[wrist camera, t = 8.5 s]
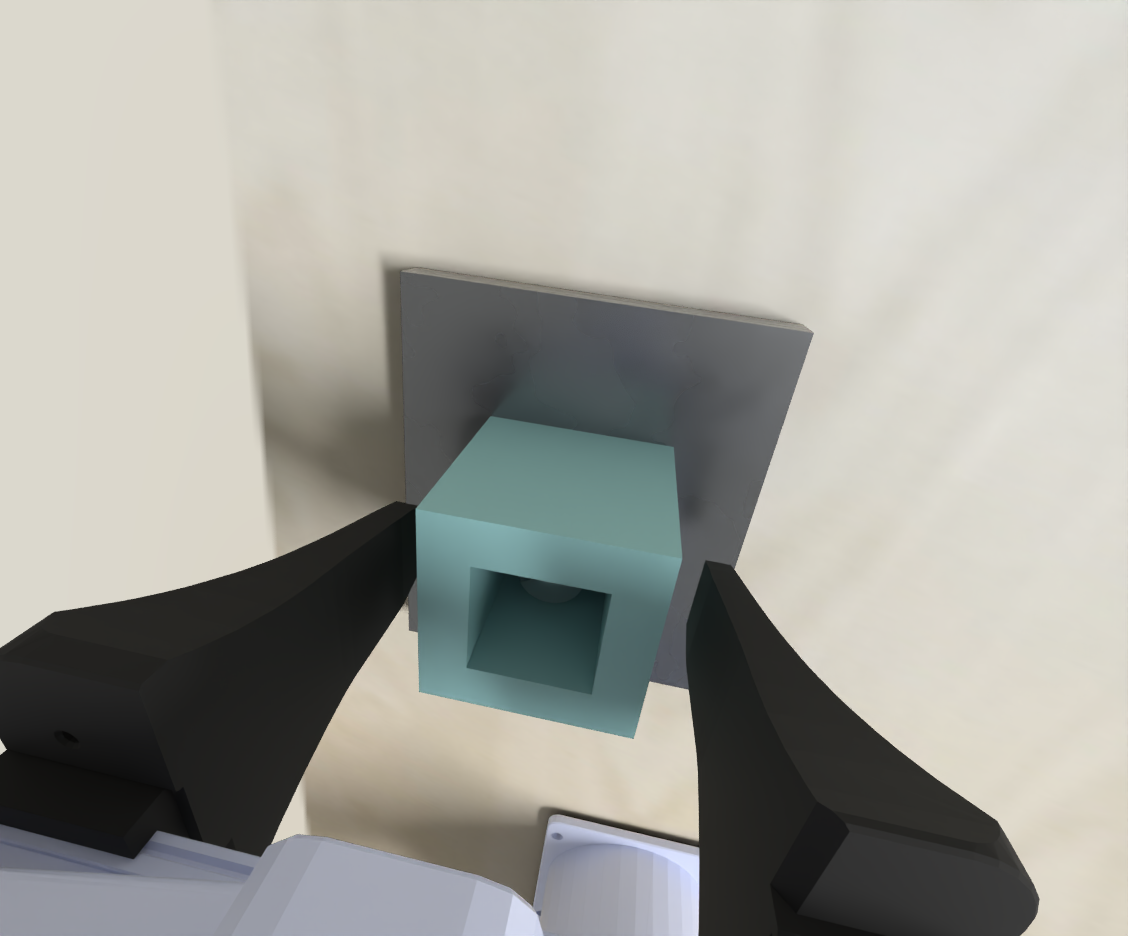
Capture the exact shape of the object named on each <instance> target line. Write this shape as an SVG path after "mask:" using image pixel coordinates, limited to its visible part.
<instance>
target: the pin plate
mask: <svg viewBox="0 0 1128 936" xmlns="http://www.w3.org/2000/svg"><path fill="white" fill-rule="evenodd" d="M400 284H401V324H402V364H403V404H404V444H405V485H406V503H407V504H413V505H419V504H420V503H421V502H422V500H423V499H424V498H425V497H426V495H427V494H428V493H429V492H430V490H431V489H432V488H433V487H434V486H435V484H436V483H437V482H438V481H439V479H440V478H441V477H442V476H443V474H444V473H445V472H446V471H447V469H448V468H449V467H450V466H451V464H452V463H453V462H454V461H455V460H456V458H457V457H458V456H459V455H460V453H461V452H462V451H463V450H464V448H465V447H466V446H467V445H468V443H469V442H470V441H471V440H472V438H473V437H474V436H475V435H476V434H477V432H478V431H479V430H480V429H481V427H482V426H483V425H484V424H485V422H486V421H487V420H488V419H489V417H490V416H493V417H499V418H505V419H511V420H517V421H523V422H529V423H534V424H540V425H546V426H552V427H558V428H564V429H570V430H576V431H582V432H588V433H594V434H600V435H606V436H612V437H618V438H624V439H630V440H635V441H641V442H647V443H653V444H659V445H665V446H671V447H674V458H675V471H676V484H677V496H678V509H679V522H680V535H681V548H682V562H681V565H680V569H679V573H678V577H677V580H676V584H675V588H674V591H673V595H672V599H671V602H670V606H669V610H668V614H667V617H666V621H665V625H664V628H663V632H662V636H661V639H660V643H659V647H658V650H657V654H656V658H655V662H654V665H653V669H652V673H651V676H650V680H649V681H651V682H656V683H660V684H665V685H670V686H674V687H679V688H684V689H689V686H688V677H687V668H686V623H687V620H688V616H689V613H690V610H691V606H692V603H693V600H694V596H695V593H696V590H697V586H698V583H699V580H700V576H701V573H702V570H703V566H704V563H705V560H708V561H713V562H718V563H723V564H729V565H731V566H732V567H733V568H734V569H735V566H736V563H737V560H738V557H739V554H740V551H741V548H742V545H743V542H744V539H745V536H746V533H747V530H748V527H749V524H750V521H751V518H752V515H753V512H754V509H755V506H756V503H757V500H758V497H759V494H760V491H761V488H762V485H763V482H764V479H765V476H766V473H767V470H768V467H769V465H770V462H771V459H772V456H773V453H774V450H775V447H776V444H777V441H778V438H779V435H780V432H781V429H782V426H783V423H784V420H785V417H786V414H787V411H788V408H789V405H790V402H791V399H792V396H793V393H794V390H795V387H796V384H797V381H798V378H799V375H800V372H801V369H802V366H803V363H804V360H805V357H806V355H807V352H808V349H809V346H810V343H811V340H812V337H813V334H814V333H813V332H812V331H811V330H809V329H808V328H807V327H805V326H804V325H802V324H796V323H789V322H782V321H775V320H769V319H762V318H755V317H748V316H742V315H735V314H728V313H721V312H715V311H708V310H701V309H694V308H688V307H681V306H674V305H667V304H661V303H654V302H647V301H640V300H634V299H627V298H620V297H613V296H607V295H600V294H593V293H586V292H580V291H573V290H566V289H559V288H553V287H546V286H539V285H533V284H526V283H519V282H512V281H506V280H499V279H492V278H485V277H479V276H472V275H465V274H458V273H452V272H445V271H438V270H431V269H425V268H418V267H416V268H412V269H407V270H403V271H400ZM519 580H520V582H521V584H522V586H523V588H524V589H525V590H526V591H527V592H528V593H529V594H530V595H532V596H533V597H535V598H537V599H539V600H541V601H545V602H549V603H561V602H566V601H569V600H571V599H573V598H574V597H575V596H577V595H578V594H579V592H580V591H581V589H582V588H577V587H572V586H567V585H562V584H557V583H552V582H547V581H541V580H536V579H531V578H526V577H521V576H519ZM408 605H409V630H410V631H415V632H418V606H417V578H416V580H415V582H414V584H413V586H412V588H411V590H410V592H409V594H408Z"/></svg>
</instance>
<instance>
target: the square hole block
mask: <svg viewBox="0 0 1128 936" xmlns="http://www.w3.org/2000/svg"><path fill="white" fill-rule="evenodd" d="M416 554H417V606H418V658H419V692H422V693H427V694H431V695H436V696H441V697H445V698H450V699H454V700H459V701H463V702H468V703H472V704H477V705H482V706H486V707H491V708H495V709H500V710H504V711H509V712H514V713H518V714H523V715H527V716H532V717H536V718H541V719H545V720H550V721H555V722H559V723H564V724H568V725H573V726H577V727H582V728H586V729H591V730H596V731H600V732H605V733H609V734H614V735H618V736H623V737H628V738H632V739H634V735H635V732H636V728H637V724H638V721H639V717H640V713H641V710H642V706H643V702H644V698H645V695H646V691H647V687H648V684H649V680H650V676H651V673H652V669H653V665H654V662H655V658H656V654H657V650H658V647H659V643H660V639H661V636H662V632H663V628H664V625H665V621H666V617H667V614H668V610H669V606H670V602H671V599H672V595H673V591H674V588H675V584H676V580H677V577H678V573H679V569H680V565H681V562H682V548H681V535H680V522H679V509H678V496H677V484H676V471H675V458H674V447H671V446H665V445H659V444H653V443H647V442H641V441H635V440H630V439H624V438H618V437H612V436H606V435H600V434H594V433H588V432H582V431H576V430H570V429H564V428H558V427H552V426H546V425H540V424H534V423H529V422H523V421H517V420H511V419H505V418H499V417H493V416H490V417H489V419H488V420H487V421H486V422H485V424H484V425H483V426H482V427H481V429H480V430H479V431H478V432H477V434H476V435H475V436H474V437H473V438H472V440H471V441H470V442H469V443H468V445H467V446H466V447H465V448H464V450H463V451H462V452H461V453H460V455H459V456H458V457H457V458H456V460H455V461H454V462H453V463H452V464H451V466H450V467H449V468H448V469H447V471H446V472H445V473H444V474H443V476H442V477H441V478H440V479H439V481H438V482H437V483H436V484H435V486H434V487H433V488H432V489H431V490H430V492H429V493H428V494H427V495H426V497H425V498H424V499H423V500H422V502H421V503H420V504H419V505H418V507H417V508H416ZM519 576H521V577H526V578H531V579H536V580H541V581H547V582H552V583H557V584H562V585H567V586H572V587H577V588H582V589H581V591H580V592H579V594H578V595H577V596H575V597H574V598H573V599H571V600H569V601H566V602H561V603H549V602H545V601H541V600H539V599H537V598H535V597H533V596H532V595H530V594H529V593H528V592H527V591H526V590H525V589H524V588H523V586H522V584H521V582H520V580H519Z"/></svg>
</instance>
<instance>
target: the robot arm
mask: <svg viewBox="0 0 1128 936" xmlns="http://www.w3.org/2000/svg"><path fill="white" fill-rule="evenodd" d="M417 507H418V505H413V504H407V503H402V502H397V501H396V502H394V503H392V504H389V505H387V506H385V507H383V508H381V509H379V510H377V511H375V512H373V513H371V514H369V515H367V516H365V517H363V518H361V519H360V520H358V521H356V522H354V523H352V524H350V525H348V526H346V527H344V528H342V529H340V530H338V531H336V532H334V533H332V534H330V535H328V536H326V537H323V538H321V539H319V540H317V541H314V542H312V543H310V544H308V545H306V546H303V547H301V548H299V549H297V550H295V551H292V552H290V553H288V554H285V555H283V556H280V557H278V558H275V559H273V560H270V561H268V562H265V563H262V564H259V565H256V566H254V567H251V568H248V569H245V570H243V571H239V572H236V573H233V574H230V575H226V576H223V577H219V578H216V579H212V580H209V581H206V582H202V583H199V584H195V585H192V586H188V587H185V588H180V589H176V590H172V591H168V592H164V593H159V594H154V595H150V596H145V597H141V598H136V599H131V600H126V601H120V602H114V603H108V604H102V605H96V606H90V607H84V608H78V609H72V610H65V611H58V612H54V613H52V614H51V615H49V616H47V617H46V618H45V619H43V620H41V621H40V622H38V623H37V624H35V625H34V626H32V627H31V628H29V629H28V630H26V631H25V632H23V633H22V634H20V635H19V636H17V637H16V638H14V639H13V640H11V641H10V642H9V643H7V644H6V645H4V646H3V647H1V648H0V739H1V741H2V743H3V744H4V746H5V747H6V749H7V750H6V751H5V752H3V753H2V754H1V755H0V936H1020V935H1021V934H1022V933H1023V932H1025V931H1026V929H1027V928H1028V927H1029V925H1030V924H1031V923H1032V921H1033V920H1034V919H1035V917H1036V915H1037V912H1038V905H1039V897H1038V894H1037V892H1036V889H1035V887H1034V884H1033V883H1032V881H1031V879H1030V877H1029V875H1028V874H1027V872H1026V870H1025V868H1024V866H1023V865H1022V863H1021V861H1020V859H1019V858H1018V856H1017V854H1016V852H1015V850H1014V849H1013V847H1012V845H1011V843H1010V842H1009V840H1008V838H1007V836H1006V835H1005V833H1004V831H1003V830H1002V828H1001V827H1000V825H999V823H998V822H997V821H996V820H995V819H993V818H992V817H991V816H989V815H988V814H986V813H985V812H983V811H982V810H980V809H979V808H978V807H976V806H975V805H973V804H972V803H970V802H969V801H967V800H966V799H964V798H963V797H962V796H960V795H959V794H957V793H956V792H954V791H953V790H951V789H950V788H949V787H947V786H946V785H944V784H943V783H941V782H940V781H938V780H937V779H936V778H934V777H933V776H932V775H930V774H929V773H928V772H926V771H925V770H924V769H922V768H921V767H920V766H919V765H917V764H916V763H915V762H913V761H912V760H911V759H909V758H908V757H907V756H906V755H904V754H903V753H902V752H900V751H899V750H898V749H897V748H895V747H894V746H893V745H892V744H891V743H889V742H888V741H887V740H886V739H884V738H883V737H882V736H881V735H880V734H878V733H877V732H876V731H875V730H874V729H873V728H872V727H870V726H869V725H868V724H867V723H866V722H865V721H864V720H862V719H861V718H860V717H859V716H858V715H857V714H856V713H855V712H853V711H852V710H851V709H850V708H849V707H848V706H847V705H846V704H845V703H844V702H843V701H842V700H841V699H840V698H838V697H837V696H836V695H835V694H834V693H833V692H832V691H831V690H830V688H829V687H828V686H827V685H826V684H825V683H824V682H823V681H822V680H821V679H820V678H819V677H818V676H817V675H816V674H815V673H814V672H813V671H812V670H811V669H810V668H809V667H808V666H807V664H806V663H805V662H804V661H803V660H802V659H801V658H800V656H799V655H798V654H797V653H796V652H795V651H794V649H793V648H792V647H791V646H790V645H789V644H788V642H787V641H786V640H785V639H784V637H783V636H782V635H781V634H780V632H779V631H778V630H777V629H776V627H775V626H774V625H773V623H772V622H771V621H770V619H769V618H768V617H767V615H766V614H765V613H764V611H763V610H762V609H761V607H760V606H759V604H758V603H757V602H756V600H755V599H754V597H753V596H752V595H751V593H750V592H749V590H748V589H747V587H746V586H745V584H744V583H743V581H742V580H741V579H740V577H739V576H738V574H737V573H736V571H735V570H734V568H733V567H732V566H731V565H729V564H723V563H718V562H713V561H708V560H705V563H704V566H703V570H702V573H701V576H700V580H699V583H698V586H697V590H696V593H695V596H694V600H693V603H692V606H691V610H690V613H689V616H688V620H687V623H686V668H687V677H688V686H689V695H690V703H691V711H692V719H693V727H694V735H695V744H696V752H697V765H698V795H699V847H694V846H690V845H686V844H682V843H678V842H673V841H669V840H665V839H661V838H657V837H652V836H648V835H644V834H640V833H636V832H631V831H627V830H623V829H619V828H614V827H610V826H606V825H602V824H598V823H593V822H589V821H585V820H581V819H577V818H572V817H568V816H564V815H559V814H556V815H552V816H550V817H549V819H548V825H547V831H546V836H545V842H544V847H543V853H542V858H541V864H540V869H539V875H538V880H537V886H536V891H535V897H534V902H533V906H531V905H530V904H529V903H528V902H527V901H525V900H524V899H523V898H522V897H521V896H520V895H518V894H517V893H516V892H515V891H514V890H512V889H511V888H509V887H507V886H504V885H502V884H499V883H497V882H494V881H492V880H489V879H487V878H484V877H482V876H479V875H475V874H472V873H468V872H464V871H460V870H456V869H452V868H448V867H444V866H440V865H436V864H432V863H428V862H424V861H420V860H416V859H412V858H408V857H404V856H400V855H396V854H392V853H388V852H384V851H380V850H376V849H372V848H368V847H364V846H360V845H356V844H352V843H348V842H344V841H340V840H336V839H332V838H328V837H321V836H310V835H299V834H297V835H294V836H292V837H289V838H286V839H284V840H281V841H279V842H277V843H274V844H271V843H272V841H273V839H274V836H275V834H276V832H277V830H278V827H279V825H280V823H281V821H282V818H283V816H284V814H285V812H286V810H287V808H288V806H289V804H290V802H291V799H292V797H293V795H294V793H295V791H296V789H297V787H298V785H299V782H300V780H301V778H302V776H303V774H304V772H305V770H306V768H307V766H308V764H309V762H310V760H311V758H312V756H313V754H314V752H315V750H316V748H317V746H318V744H319V742H320V740H321V738H322V736H323V734H324V732H325V730H326V728H327V726H328V724H329V723H330V721H331V719H332V717H333V715H334V713H335V711H336V709H337V708H338V706H339V704H340V702H341V700H342V698H343V696H344V694H345V693H346V691H347V689H348V688H349V686H350V684H351V683H352V681H353V679H354V678H355V676H356V675H357V673H358V672H359V670H360V669H361V667H362V666H363V664H364V663H365V661H366V660H367V658H368V657H369V655H370V654H371V652H372V651H373V649H374V648H375V646H376V645H377V643H378V642H379V640H380V639H381V637H382V636H383V634H384V633H385V631H386V630H387V629H388V627H389V625H390V624H391V622H392V621H393V619H394V618H395V616H396V615H397V613H398V612H399V610H400V609H401V607H402V606H403V604H404V602H405V600H406V598H407V596H408V594H409V592H410V590H411V588H412V586H413V584H414V582H415V580H416V578H417V554H416V508H417Z"/></svg>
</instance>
